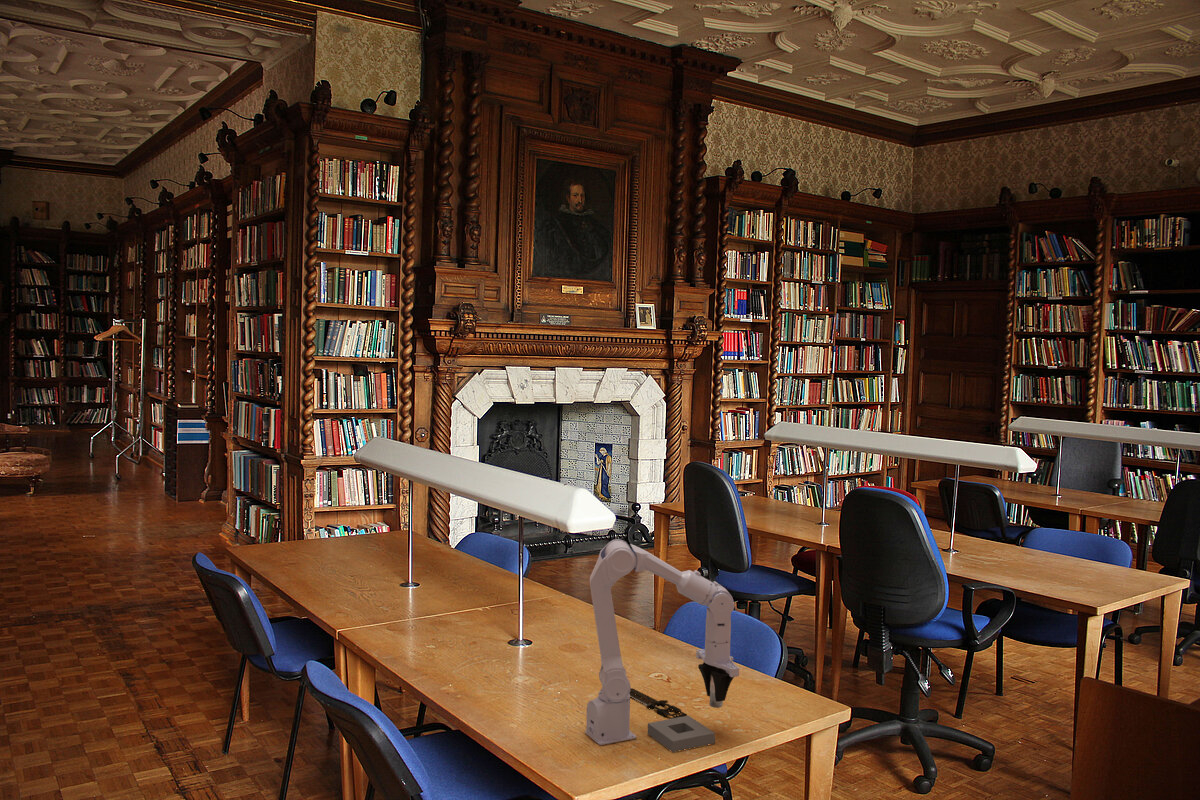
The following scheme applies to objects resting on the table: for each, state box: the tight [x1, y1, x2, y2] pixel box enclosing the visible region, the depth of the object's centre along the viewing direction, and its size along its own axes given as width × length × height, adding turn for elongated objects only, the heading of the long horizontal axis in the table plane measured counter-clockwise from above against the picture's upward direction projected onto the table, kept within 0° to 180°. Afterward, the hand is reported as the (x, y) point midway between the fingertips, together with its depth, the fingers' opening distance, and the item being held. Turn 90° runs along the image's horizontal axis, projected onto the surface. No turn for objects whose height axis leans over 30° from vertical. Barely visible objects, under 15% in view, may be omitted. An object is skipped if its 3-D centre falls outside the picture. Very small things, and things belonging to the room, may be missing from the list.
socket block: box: [647, 715, 716, 753], centre depth 209 cm, size 11×11×2 cm
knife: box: [629, 688, 688, 719], centre depth 231 cm, size 25×6×1 cm, turn 30°
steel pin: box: [709, 675, 724, 709], centre depth 212 cm, size 3×3×7 cm
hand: (716, 698), depth 212 cm, fingers closed on steel pin, 3 cm apart
